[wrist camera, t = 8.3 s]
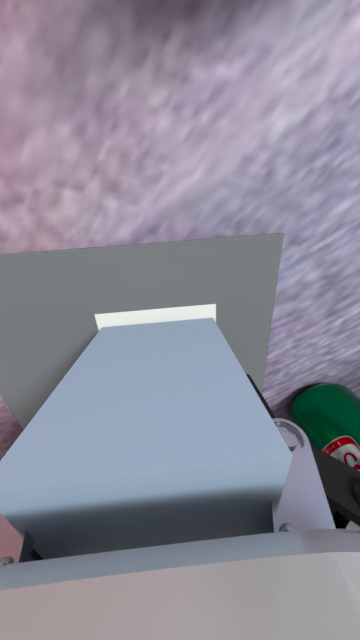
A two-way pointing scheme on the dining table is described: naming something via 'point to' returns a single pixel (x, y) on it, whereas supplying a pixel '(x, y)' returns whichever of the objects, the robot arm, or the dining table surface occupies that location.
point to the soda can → (330, 420)
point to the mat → (128, 303)
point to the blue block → (146, 447)
